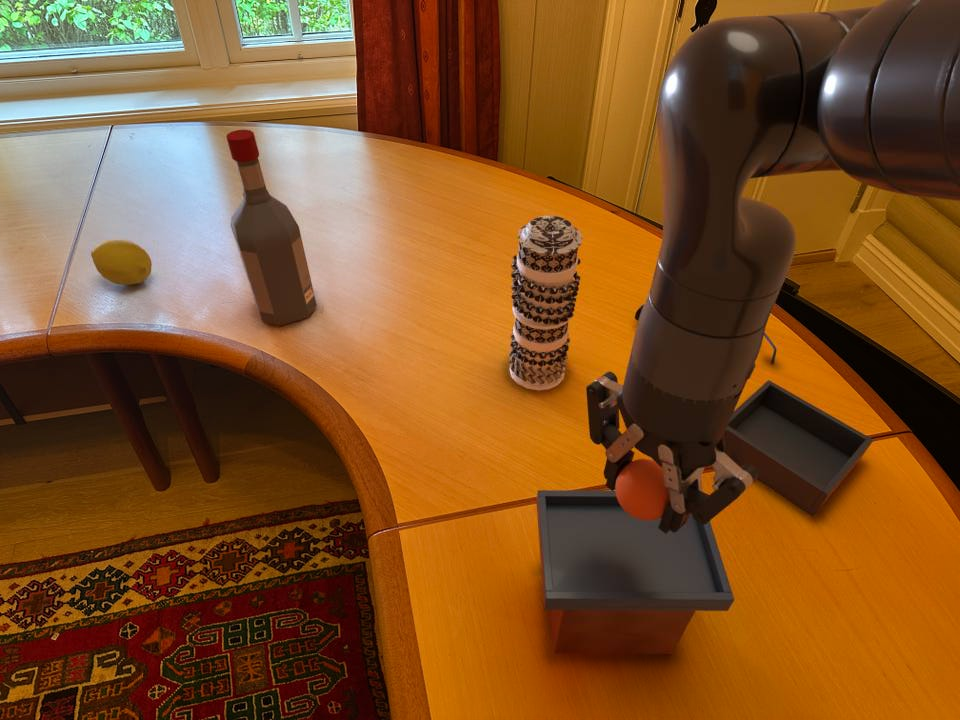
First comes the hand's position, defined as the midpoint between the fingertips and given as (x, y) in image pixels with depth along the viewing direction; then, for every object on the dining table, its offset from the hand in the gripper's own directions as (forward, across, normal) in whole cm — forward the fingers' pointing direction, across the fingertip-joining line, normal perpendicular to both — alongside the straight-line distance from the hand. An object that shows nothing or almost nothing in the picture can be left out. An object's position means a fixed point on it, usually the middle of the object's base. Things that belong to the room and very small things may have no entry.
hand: (642, 503), depth 51 cm
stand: (+20, 0, 0) cm, 20 cm away
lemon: (+20, -96, -17) cm, 100 cm away
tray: (+8, 0, 0) cm, 8 cm away
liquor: (+20, -70, 0) cm, 73 cm away
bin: (+20, +2, +34) cm, 39 cm away
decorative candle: (+20, -31, +21) cm, 43 cm away
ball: (-2, 0, 0) cm, 2 cm away
